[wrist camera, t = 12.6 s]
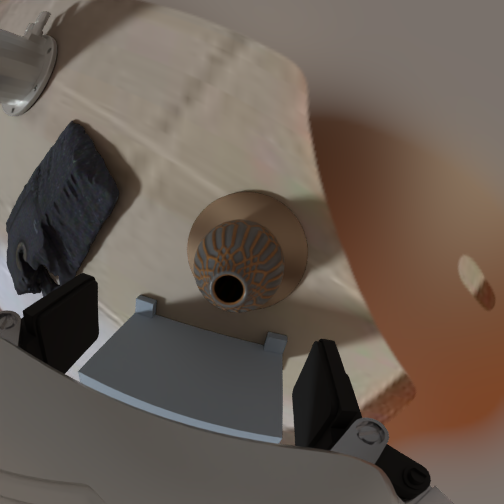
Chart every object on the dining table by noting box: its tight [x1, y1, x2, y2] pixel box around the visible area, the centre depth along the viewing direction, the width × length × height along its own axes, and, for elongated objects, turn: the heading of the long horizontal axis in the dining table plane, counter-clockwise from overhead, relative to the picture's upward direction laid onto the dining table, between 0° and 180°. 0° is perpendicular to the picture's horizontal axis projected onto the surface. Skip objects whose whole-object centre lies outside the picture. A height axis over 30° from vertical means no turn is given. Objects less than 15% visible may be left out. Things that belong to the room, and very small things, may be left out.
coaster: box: [187, 192, 308, 309], centre depth 25 cm, size 11×11×1 cm
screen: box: [78, 295, 287, 444], centre depth 22 cm, size 5×16×12 cm, turn 76°
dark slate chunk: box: [6, 120, 119, 297], centre depth 25 cm, size 15×22×5 cm
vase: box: [194, 219, 284, 312], centre depth 21 cm, size 7×7×9 cm
